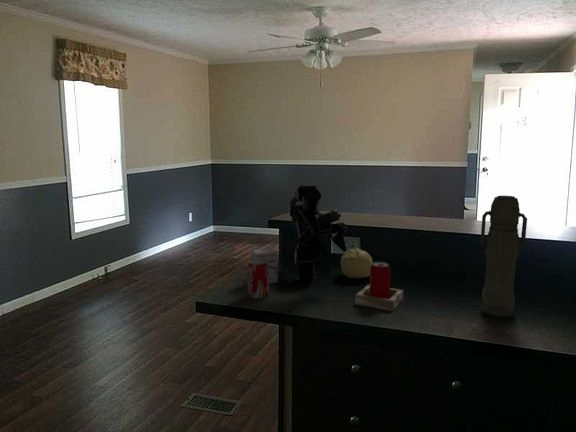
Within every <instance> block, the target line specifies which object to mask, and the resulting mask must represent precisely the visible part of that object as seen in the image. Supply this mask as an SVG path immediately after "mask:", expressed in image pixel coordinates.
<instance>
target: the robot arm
mask: <svg viewBox="0 0 576 432" xmlns="http://www.w3.org/2000/svg"><path fill="white" fill-rule="evenodd" d="M321 198H322V193H321V192H320V190H319V188H317V186H316V185H298V187H297V188H296V191H294V197H293V198H292V199H291V200H290V201H289V207H288V209H289V210H288V211H289V213H288V214H289V217H290V219H291V221H292V222H293V223H294V224H295V225H296V231H297V234H298V235H297V236H298V238H297V244H296V248H295V249H294V264H295V265H297V266H298V276H297V277H296V278H294V280H295V281H299V282H305V283H312V282H314V281H315V280H317V279H318V278H319V277H318V276H316V275H315V265H319V264H320V263H321V262H320V261H321V255H322V256H324V257H326V258H327V257H328V256H329V252H328V250H327V249H326V247H325V245H324V244H323V242H322V239H321V238H322V237H323V236H329V238H331V241H332V242H333V244H335V245H336V246H337V247H338V248H339V249H340V250H341V251H342V252H344V253H345V252H346V251H348V250H347V246H346V242H345V237H344V234H345V232H346V230H347V229H348V226H347V225H346V224H345V222H342V221H340V219H341V218H342V215H341V213H340V211H339V210H338V209H337V208H336V209H333V210H331V211H330V212H327V213H324V212H322V213H321V212H320V210H319V209H318V207H319V204H320V201H321ZM298 202H299V203H301V204H297V203H298ZM338 221H340V222H338ZM335 222H336V223H335ZM333 223H334V224H333ZM330 227H331V228H330Z"/></svg>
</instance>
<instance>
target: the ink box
mask: <svg viewBox="0 0 576 432" xmlns="http://www.w3.org/2000/svg"><path fill="white" fill-rule="evenodd" d="M250 255H251V256H250V260H253V259H263V260H266V263H267V265H268V270H269V284H274V283H278V267H279V266H278V263H279V262H278V258H279V257H278V256H279V255H278V251H277V250H276V249H273V248H263V249H254V250H251V252H250Z"/></svg>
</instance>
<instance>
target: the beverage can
mask: <svg viewBox="0 0 576 432" xmlns="http://www.w3.org/2000/svg"><path fill="white" fill-rule="evenodd" d="M369 276H370V277H369V285H370V296H373V297H379V298H385V299H389V298H390V288H391V267H390V264H389V263H388V262H385V261H374V262H373V263H372V266H371V268H370V275H369Z"/></svg>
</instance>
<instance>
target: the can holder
mask: <svg viewBox="0 0 576 432" xmlns="http://www.w3.org/2000/svg"><path fill="white" fill-rule="evenodd" d="M403 300H404V289H400V288H392V287H390V298H389V299H385V298H379V297H373V296H370V284H367V285H366V286H365V287H364V288H362V289H361V290H360V291H358V292H357V293H356V294H355V300H354V301H355V302H354V303H355V305H357V306H363V307H367V308H368V307H369V308H374V309H381V310H385V311H392V312H394V310H395V309H396V308H397V307H398V305H399V304H401V302H402V301H403Z"/></svg>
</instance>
